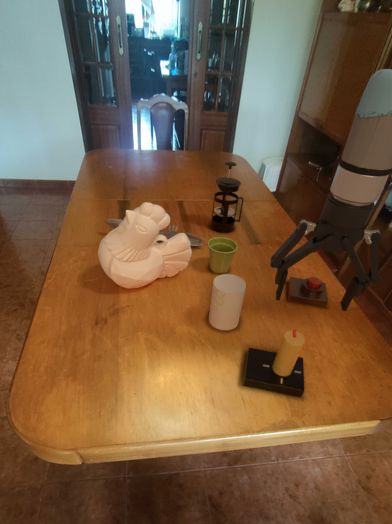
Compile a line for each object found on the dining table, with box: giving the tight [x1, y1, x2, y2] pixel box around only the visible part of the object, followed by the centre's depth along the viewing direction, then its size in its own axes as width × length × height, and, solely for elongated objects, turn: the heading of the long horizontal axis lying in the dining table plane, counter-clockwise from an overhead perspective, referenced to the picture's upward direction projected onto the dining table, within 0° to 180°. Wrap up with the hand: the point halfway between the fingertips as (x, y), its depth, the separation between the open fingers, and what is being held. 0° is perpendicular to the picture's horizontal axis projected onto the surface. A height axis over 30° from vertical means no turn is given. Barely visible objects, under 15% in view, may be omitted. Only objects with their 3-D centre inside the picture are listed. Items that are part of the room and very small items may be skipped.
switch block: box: [287, 276, 329, 308], centre depth 96 cm, size 11×10×4 cm
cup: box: [208, 273, 247, 331], centre depth 82 cm, size 8×8×12 cm
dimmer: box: [242, 347, 305, 398], centre depth 73 cm, size 13×10×3 cm
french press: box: [209, 161, 245, 234], centre depth 116 cm, size 12×9×23 cm
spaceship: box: [104, 217, 205, 247], centre depth 110 cm, size 8×35×8 cm
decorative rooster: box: [97, 201, 193, 289], centre depth 88 cm, size 25×16×25 cm
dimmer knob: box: [272, 329, 306, 376], centre depth 68 cm, size 4×4×10 cm
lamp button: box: [307, 276, 322, 289], centre depth 94 cm, size 4×4×2 cm
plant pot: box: [207, 236, 239, 275], centre depth 101 cm, size 9×9×9 cm
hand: (310, 301), depth 67 cm, fingers open, 13 cm apart
